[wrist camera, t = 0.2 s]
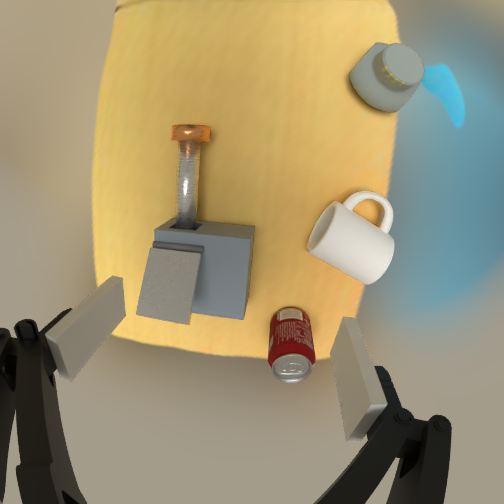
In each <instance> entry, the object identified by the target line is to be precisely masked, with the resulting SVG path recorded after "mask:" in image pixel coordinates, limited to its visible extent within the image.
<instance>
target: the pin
mask: <svg viewBox="0 0 504 504" xmlns="http://www.w3.org/2000/svg"><path fill="white" fill-rule="evenodd" d="M209 139H210V127H209V126H203V125H173V126H172V135H171V140H172V141H179V151H178V168H177V190H176V229H184V230H194V231H196V228H197V202H198V182H199V165H200V150H201V142H209Z"/></svg>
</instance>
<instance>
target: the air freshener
mask: <svg viewBox="0 0 504 504" xmlns="http://www.w3.org/2000/svg"><path fill="white" fill-rule="evenodd" d="M424 72H425V71H424V65H423V62H422V61H421V59H420V57H419V56H418V55H417V54H416V52H415V51H414V50H412V49H410V47H408V46H404V45H403V44H400V43H393V44H390V45H389V44H385V43H375V44H374V45H373V46H372V47H371V49H370V50H369V51H368V52H367V53H366V54H365V55H364V57H363V58H362V59H361V60H360V61H359V62H358V63H357V65H356V66H355V67H354V68H353V69H352V71H351V72H350V73H349V76H350V80H351V83H352V85H353V87H354V89H355V90H356V92H357V93H358V95H359V96H360V97H361V98H362V99H363V100H364V101H365V102H367V103H368V104H369V105H371V106H372V107H374V108H377V109H379V110H382V111H386V112H396V111H398V110H399V109H400V108H401V107H402V106H403V105H404V104H405V103H406V102H407V101H408V100H409V99H410V97H411V96H412V95H413V94H414V92H415V91H416V89H417V88H418V86H419V84H420V82H421V81H422V79H423V77H424Z"/></svg>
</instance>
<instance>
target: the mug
mask: <svg viewBox="0 0 504 504" xmlns="http://www.w3.org/2000/svg"><path fill="white" fill-rule="evenodd" d="M364 199H373V200H375V201H377V202H379V203H380V204H381V205H382V206H383V207H384V211H385V213H384V218H383V221H382V223H381V225H380V227H377V226H375V225H374V224H372V223H370V222H369V221H367V220H366V219H364V218H363V217H361V216H360V215H358V214H357V213H355V212H353V208H354V207H355V206H356V205H357V204H358V203H359V202H360V201H362V200H364ZM392 221H393V210H392V207H391V205H390V203H389V202H388V200H387V199H385V198H384V197H383V196H381V195H379V194H377V193H374V192H371V191H359V192H356V193H354V194H352V195H351V196H349V197H348V198H347V199H346V200H345V202H344V203H343V204H341V203H339V202H337V201H334V202H332V203H331V204H330V205H328V206H327V208H326V209H325V210H324V211H323V213H322V214H321V216H320V217H319V219H318V220H317V222H316V224H315V226H314V228H313V230H312V232H311V234H310V237H309V240H308V243H307V251H308V253H310V254H311V255H313V256H315V257H317V258H319V259H320V260H322V261H324V262H326V263H328V264H330V265H331V266H333V267H335V268H337V269H338V270H340V271H342V272H344V273H346V274H347V275H349V276H351V277H353V278H354V279H356V280H358V281H360V282H361V283H363V284H371V283H373V282H375V281H376V280H378V279H379V278H380V277H381V276H382V275H383V273H384V272H385V271H386V269H387V268H388V266H389V264H390V262H391V260H392V257H393V253H394V240H393V238H392V237H391V236H390V235H388V232H389V230H390V228H391V225H392Z"/></svg>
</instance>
